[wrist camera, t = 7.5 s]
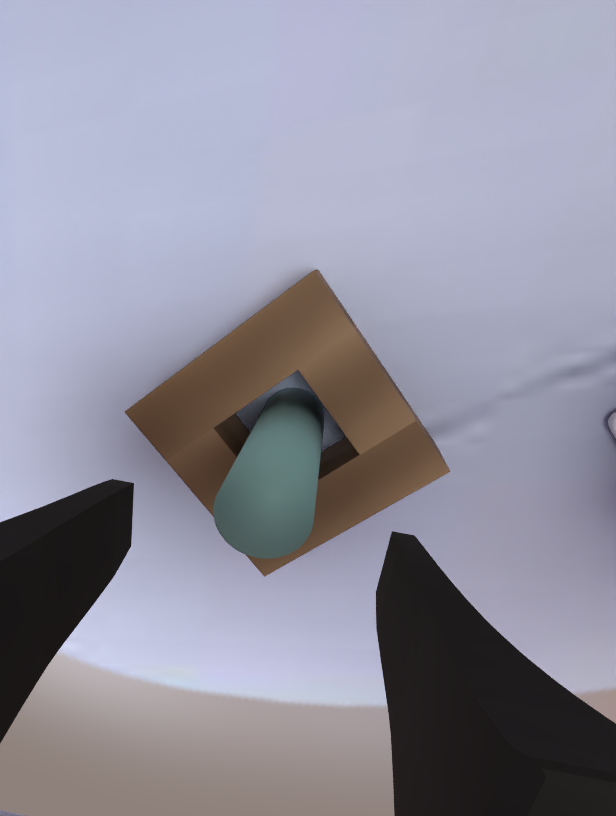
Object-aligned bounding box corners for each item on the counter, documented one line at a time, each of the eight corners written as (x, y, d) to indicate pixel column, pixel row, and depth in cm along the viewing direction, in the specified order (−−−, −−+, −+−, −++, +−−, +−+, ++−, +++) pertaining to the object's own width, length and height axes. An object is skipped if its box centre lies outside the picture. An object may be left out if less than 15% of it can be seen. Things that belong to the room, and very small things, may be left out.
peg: (336, 425, 21) (333, 530, 13) (286, 455, 22) (252, 573, 14) (301, 376, 21) (274, 451, 12) (251, 408, 21) (193, 501, 13)
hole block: (435, 444, 21) (450, 471, 18) (273, 539, 24) (264, 576, 21) (318, 269, 19) (314, 270, 16) (152, 392, 22) (124, 411, 19)
